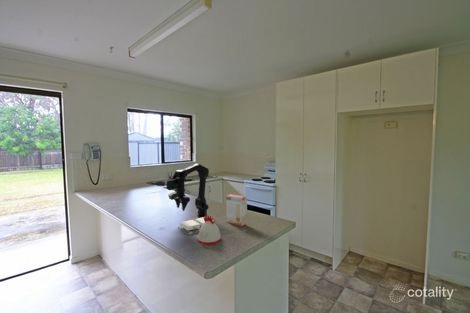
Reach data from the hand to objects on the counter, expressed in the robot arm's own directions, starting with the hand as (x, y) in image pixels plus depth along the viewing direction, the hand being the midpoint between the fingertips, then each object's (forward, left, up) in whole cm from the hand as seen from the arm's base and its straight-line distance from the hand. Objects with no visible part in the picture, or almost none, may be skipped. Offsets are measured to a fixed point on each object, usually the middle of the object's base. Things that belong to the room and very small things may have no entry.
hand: (180, 209), depth 156 cm
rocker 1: (-2, +12, -8) cm, 15 cm away
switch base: (-7, +12, -12) cm, 18 cm away
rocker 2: (-13, +12, -8) cm, 19 cm away
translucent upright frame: (-34, +21, -12) cm, 42 cm away
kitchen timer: (-4, +33, -12) cm, 35 cm away
